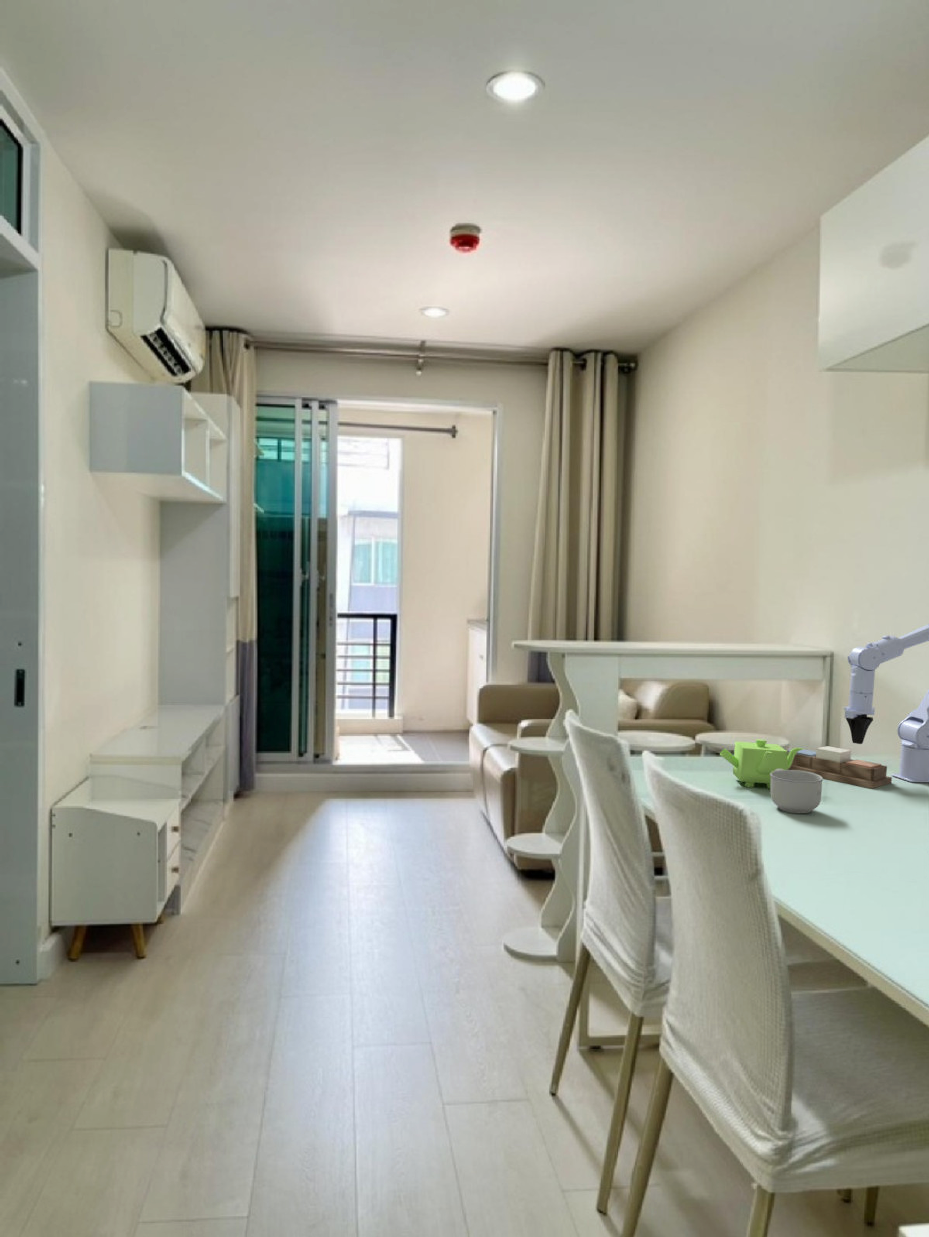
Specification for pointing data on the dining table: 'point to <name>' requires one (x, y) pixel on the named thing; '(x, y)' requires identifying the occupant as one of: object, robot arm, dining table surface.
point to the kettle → (758, 761)
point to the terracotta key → (864, 764)
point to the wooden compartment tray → (842, 771)
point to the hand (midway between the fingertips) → (857, 743)
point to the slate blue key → (805, 752)
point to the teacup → (796, 790)
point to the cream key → (833, 754)
